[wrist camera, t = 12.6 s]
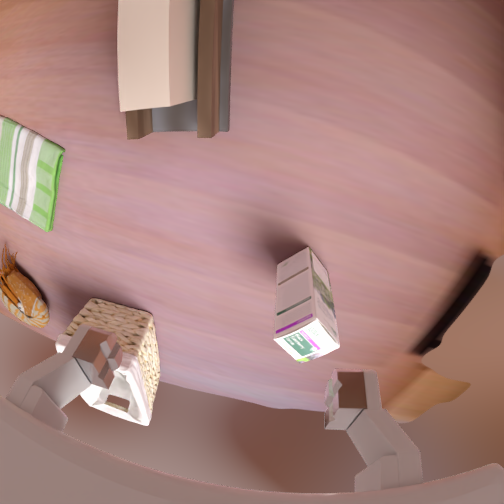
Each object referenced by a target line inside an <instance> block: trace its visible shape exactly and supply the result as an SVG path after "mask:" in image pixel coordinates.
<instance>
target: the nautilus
mask: <svg viewBox="0 0 504 504" xmlns="http://www.w3.org/2000/svg"><path fill="white" fill-rule="evenodd" d="M6 250H7V248H6V246H5V252H6ZM3 252H4V249H3ZM8 252H9V250H8ZM16 254H17V252H16ZM16 254H15V258H16ZM9 255H10V253H9ZM10 257H11V256H10ZM6 259H7V254H6V253H5V262H6V261H7V260H8V259H7V260H6ZM12 260H13V259H12V257H11V261H12ZM8 262H9V260H8ZM8 262H6V265H7V263H8ZM2 263H3V253H2ZM14 264H15V259H14V260H13V262H12V264H11V263H9V265H7V268H5V265H4V263H3V266H4V267H2V270H3V271H4V272H3V273H2V270H1V269H0V272H1V274H0V297H1V300H2V302H3V303H4V305H5V307H6V308H7V309H8V310H9V311H10V312H11V313H12V314H13V315H14V316H16V317H17V318H18V319H19V320H20V321H22V322H24V323H26V324H28V325H32V326H35V327H39V328H43V327H44V326H46V325H47V324H48V322H49V310H48V307H47V305H46V304H45V302H44V301H43V299H42V296H41V294H40V292H39V290H38V289H37V288H36V287H35V285H34V284H33V283H32V282H31V281H30V280H29V279H28V278H27V277H25V276H23V275H22V274H21V273H20V272H19V270H18V269H17V267H16V265H15V267H16V268H15V267H13V266H14ZM9 268H10V269H9Z"/></svg>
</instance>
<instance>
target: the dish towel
mask: <svg viewBox="0 0 504 504" xmlns="http://www.w3.org/2000/svg"><path fill="white" fill-rule="evenodd" d="M62 152H65V149H63V148H62V147H60V146H59V145H57V144H55V143H53V142H51V141H50V140H48V139H46V138H44V137H42V136H41V135H39V134H38V133H36V132H35V131H33V130H30V129H28V128H26V127H23V126H22V125H20V124H18V123H17V122H15V121H13V120H11V119H9V118H6V117H3V116H0V203H1V204H2V205H4V206H5V207H7V208H9V209H11V210H13V211H14V212H16V213H17V214H18V215H20V216H21V217H23V218H25V219H27V220H29V221H30V222H32V223H33V224H35V225H37V226H38V227H40V228H41V229H43V230H44V231H46V232H49V231H52V229H53V221H54V213H55V206H56V199H57V192H58V184H59V177H60V172H61V166H62V160H63V155H61V154H62Z"/></svg>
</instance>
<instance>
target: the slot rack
mask: <svg viewBox="0 0 504 504" xmlns="http://www.w3.org/2000/svg"><path fill="white" fill-rule="evenodd" d="M233 6H234V0H200V17H199V41H198V84H197V99H195V100H192V101H188V102H184V103H180V104H177V105H173V106H170V107H158V108H148V109H139V110H131V111H126V125H127V139H140V138H142V137H144V136H146V135H148V134H150V133H152V132H166V131H197V132H198V138H212V137H213V136H214V135H215V134H217V133H218V132H219V131H224V132H228V131H229V117H230V80H231V51H232V27H233Z"/></svg>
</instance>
